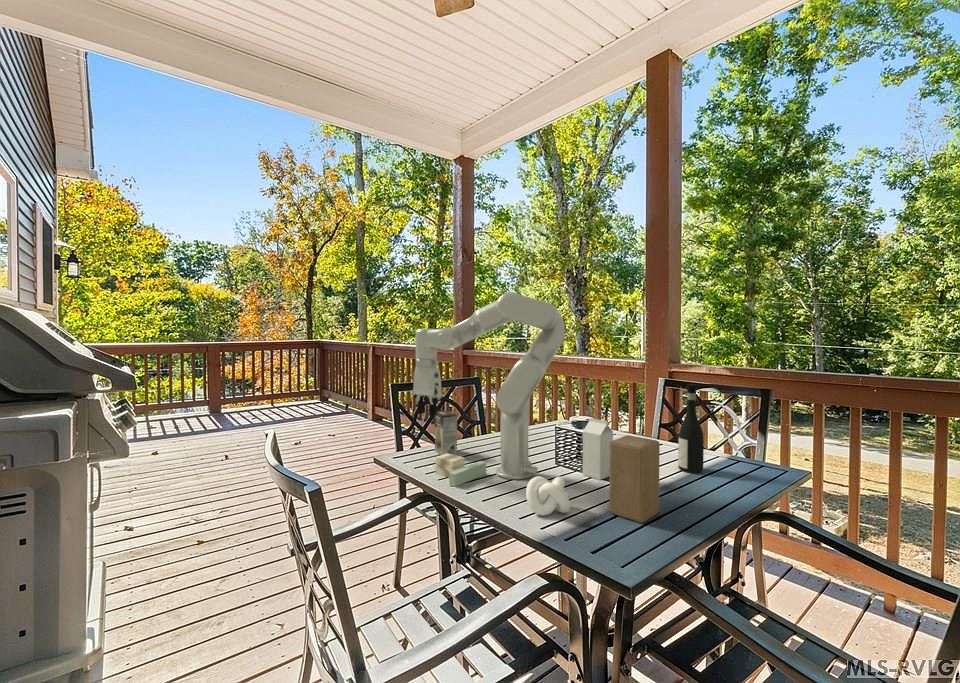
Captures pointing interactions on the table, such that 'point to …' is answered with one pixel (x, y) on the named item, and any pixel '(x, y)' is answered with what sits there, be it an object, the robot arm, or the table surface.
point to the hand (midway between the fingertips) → (427, 413)
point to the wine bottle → (691, 437)
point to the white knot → (547, 496)
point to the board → (467, 473)
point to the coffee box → (446, 432)
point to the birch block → (448, 464)
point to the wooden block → (634, 478)
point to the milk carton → (597, 449)
